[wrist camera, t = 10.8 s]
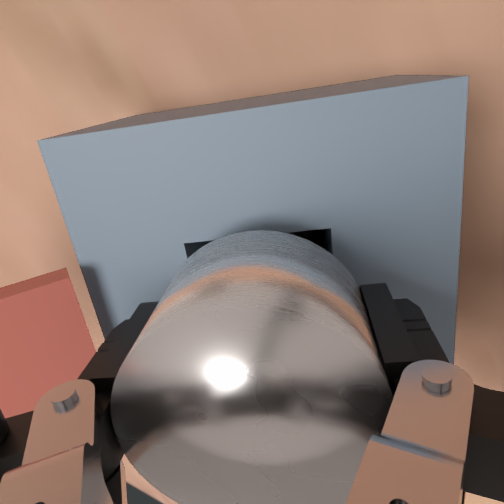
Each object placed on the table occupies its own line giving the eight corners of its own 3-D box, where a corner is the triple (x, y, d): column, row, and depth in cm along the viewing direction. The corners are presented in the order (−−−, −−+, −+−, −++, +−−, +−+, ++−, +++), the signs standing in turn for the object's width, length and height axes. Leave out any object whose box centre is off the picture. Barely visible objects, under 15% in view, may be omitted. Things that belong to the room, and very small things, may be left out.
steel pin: (336, 164, 17) (396, 294, 7) (344, 290, 19) (400, 525, 9) (196, 182, 18) (73, 320, 8) (221, 301, 20) (149, 525, 10)
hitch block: (396, 75, 18) (468, 75, 10) (398, 313, 22) (450, 430, 15) (134, 115, 19) (37, 140, 12) (186, 328, 24) (139, 440, 17)
